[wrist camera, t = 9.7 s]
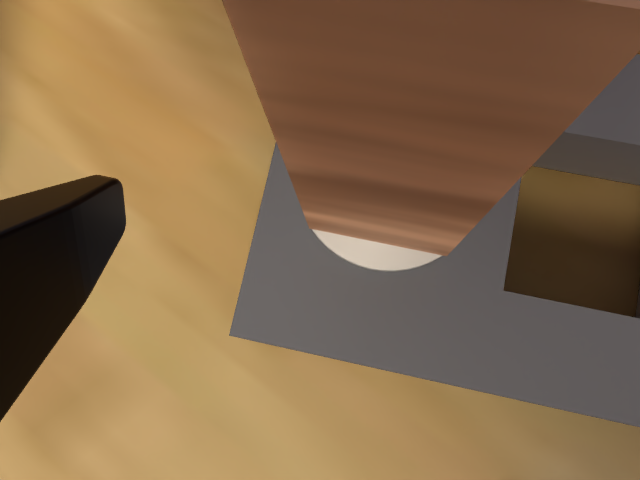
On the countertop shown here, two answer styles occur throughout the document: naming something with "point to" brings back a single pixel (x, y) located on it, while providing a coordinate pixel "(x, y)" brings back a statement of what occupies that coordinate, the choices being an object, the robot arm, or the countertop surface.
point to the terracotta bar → (423, 101)
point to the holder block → (453, 290)
